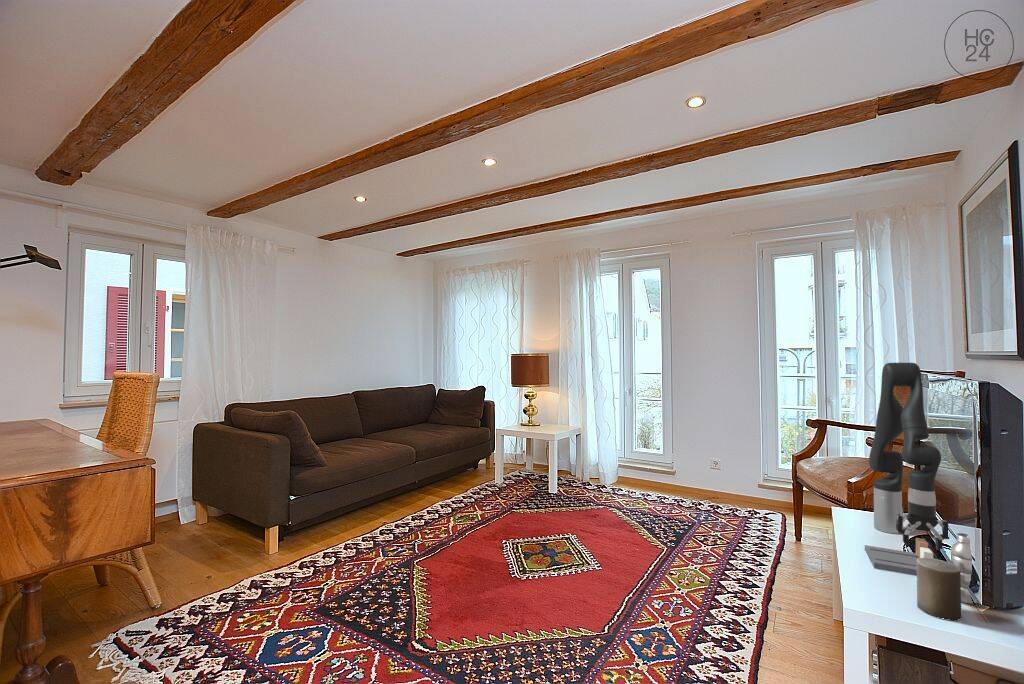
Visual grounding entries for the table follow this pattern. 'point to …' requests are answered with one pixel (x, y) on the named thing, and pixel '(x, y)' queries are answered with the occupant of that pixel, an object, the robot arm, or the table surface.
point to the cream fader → (925, 553)
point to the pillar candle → (939, 588)
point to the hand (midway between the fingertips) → (922, 547)
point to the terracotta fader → (920, 545)
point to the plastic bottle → (963, 564)
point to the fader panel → (893, 560)
